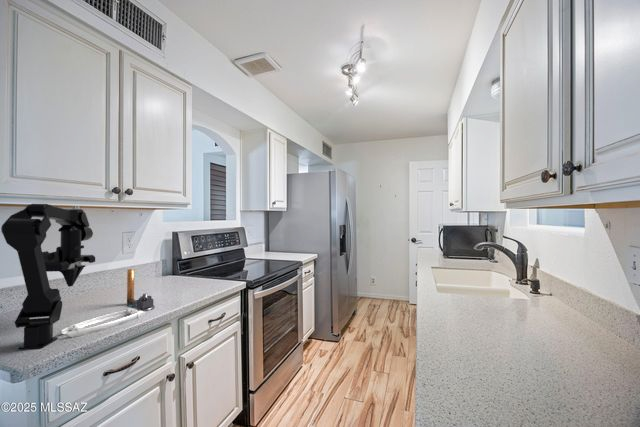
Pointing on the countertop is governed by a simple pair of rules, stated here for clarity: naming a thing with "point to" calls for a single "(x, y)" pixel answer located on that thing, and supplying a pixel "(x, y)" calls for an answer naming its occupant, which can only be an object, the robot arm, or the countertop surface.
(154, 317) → the countertop surface
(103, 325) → the door handle
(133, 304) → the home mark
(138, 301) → the l-shaped piece
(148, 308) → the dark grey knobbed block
